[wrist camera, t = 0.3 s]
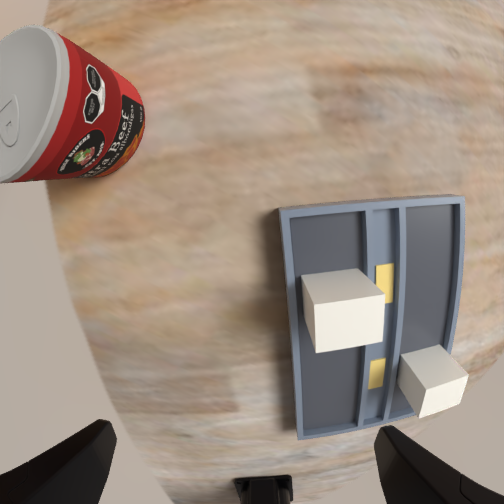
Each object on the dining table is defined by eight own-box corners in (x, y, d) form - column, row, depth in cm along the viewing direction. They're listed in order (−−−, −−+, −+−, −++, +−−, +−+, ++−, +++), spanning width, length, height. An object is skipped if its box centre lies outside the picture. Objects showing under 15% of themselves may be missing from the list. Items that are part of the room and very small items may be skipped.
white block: (357, 307, 21) (382, 341, 16) (303, 315, 21) (315, 353, 16) (357, 268, 20) (385, 294, 15) (300, 275, 20) (314, 304, 15)
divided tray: (428, 396, 25) (436, 408, 23) (295, 425, 25) (297, 440, 23) (450, 194, 20) (464, 196, 18) (277, 207, 21) (280, 210, 19)
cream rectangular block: (434, 371, 22) (459, 403, 17) (396, 382, 22) (418, 418, 18) (439, 344, 22) (468, 374, 17) (400, 354, 22) (426, 389, 17)
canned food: (98, 198, 21) (-6, 219, 10) (48, 130, 19) (-52, 118, 8) (170, 124, 19) (93, 79, 9) (111, 59, 18) (28, 1, 7)
